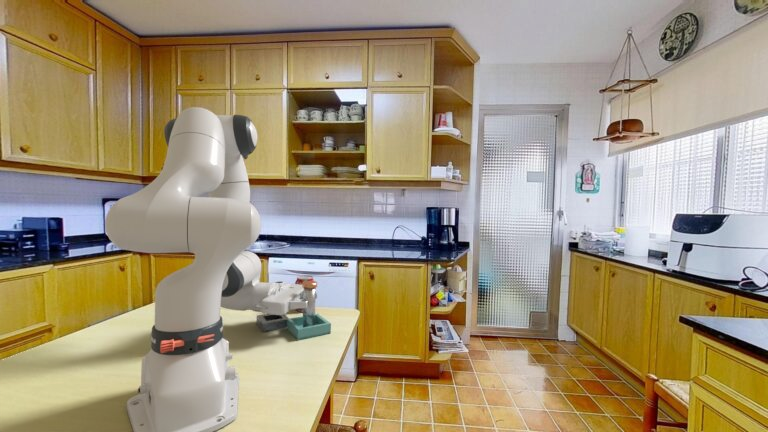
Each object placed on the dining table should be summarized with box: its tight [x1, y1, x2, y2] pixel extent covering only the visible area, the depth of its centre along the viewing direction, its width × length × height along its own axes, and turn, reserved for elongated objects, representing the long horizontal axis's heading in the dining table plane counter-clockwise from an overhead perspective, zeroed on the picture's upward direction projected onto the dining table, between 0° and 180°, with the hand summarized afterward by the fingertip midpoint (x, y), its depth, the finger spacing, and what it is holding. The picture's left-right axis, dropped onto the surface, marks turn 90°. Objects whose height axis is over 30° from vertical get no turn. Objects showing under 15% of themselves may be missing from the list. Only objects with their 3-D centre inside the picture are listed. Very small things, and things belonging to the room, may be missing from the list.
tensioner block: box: [255, 313, 290, 333], centre depth 99 cm, size 8×8×2 cm
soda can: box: [294, 275, 315, 313], centre depth 115 cm, size 7×7×12 cm
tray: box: [286, 313, 332, 341], centre depth 95 cm, size 10×10×3 cm
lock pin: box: [302, 280, 318, 327], centre depth 95 cm, size 4×4×14 cm
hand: (312, 300), depth 95 cm, fingers open, 8 cm apart
